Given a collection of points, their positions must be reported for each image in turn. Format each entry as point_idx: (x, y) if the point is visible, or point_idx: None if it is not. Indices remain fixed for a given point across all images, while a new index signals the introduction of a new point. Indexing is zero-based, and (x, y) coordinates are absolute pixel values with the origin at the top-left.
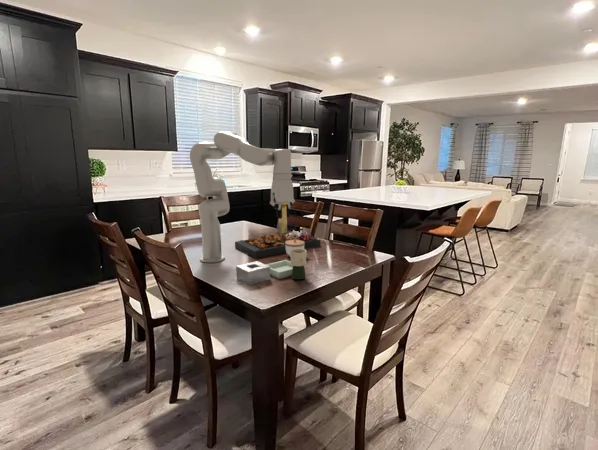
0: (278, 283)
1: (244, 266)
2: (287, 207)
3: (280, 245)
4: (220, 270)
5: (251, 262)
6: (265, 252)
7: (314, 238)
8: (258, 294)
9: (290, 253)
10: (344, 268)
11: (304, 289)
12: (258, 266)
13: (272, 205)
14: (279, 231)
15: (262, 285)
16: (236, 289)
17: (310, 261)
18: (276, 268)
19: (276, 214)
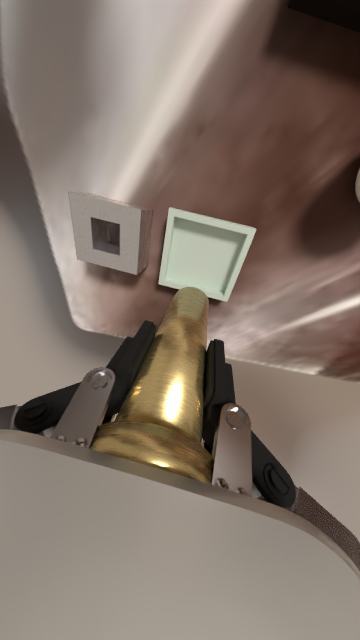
0: (145, 292)
1: (85, 218)
2: (204, 435)
3: None
4: (80, 58)
5: (119, 204)
6: (357, 7)
7: None
8: (91, 295)
9: (357, 176)
10: (295, 348)
11: None
12: (121, 244)
13: (13, 407)
14: (174, 296)
15: (116, 275)
16: (68, 248)
17: (325, 263)
18: (201, 236)
19: (123, 344)
